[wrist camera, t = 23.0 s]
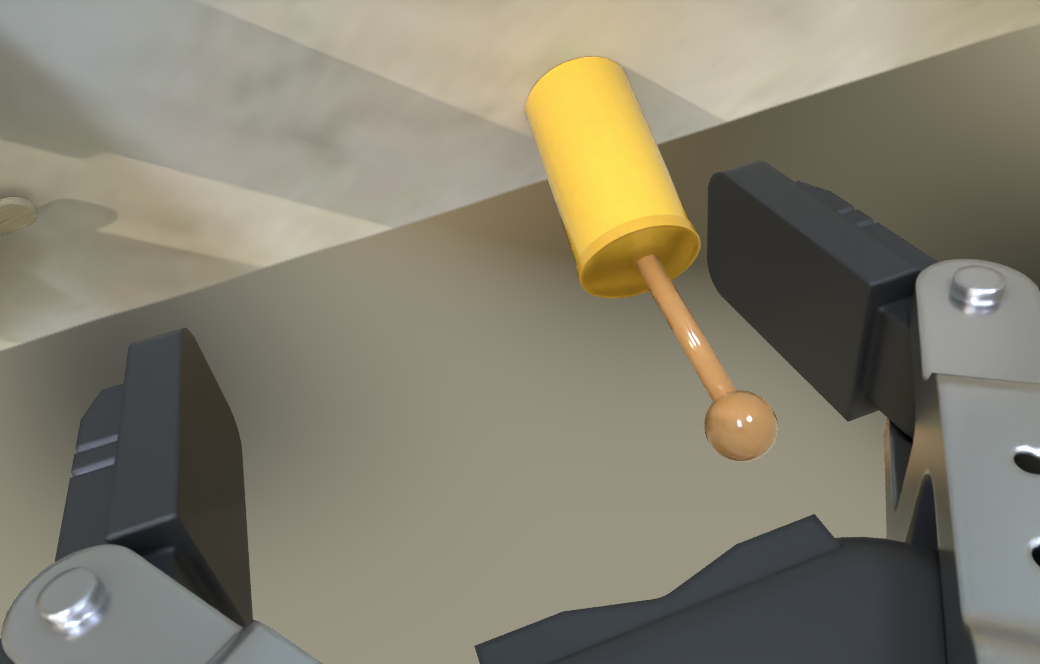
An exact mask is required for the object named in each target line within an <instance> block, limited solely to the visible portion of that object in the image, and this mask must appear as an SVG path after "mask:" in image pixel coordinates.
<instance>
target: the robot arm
mask: <svg viewBox="0 0 1040 664" xmlns="http://www.w3.org/2000/svg"><path fill="white" fill-rule="evenodd" d="M707 238H708V239H707V247H708V248H707V262H708V268H709V272H710V276H711V279H712V281H713V283H714V286H715V287H716V289H717V291H718V292H719V293H720V295H721V296H722V297H723V298H724V299H725V300H726V301H727V302H728V303H729V304H730V305H731V306H732V307H733V308H734V309H735V310H736V311H737V312H738V313H739V314H740V315H741V316H742V317H743V318H744V319H745V320H746V321H747V322H748V323H749V324H750V325H751V326H752V327H753V328H754V329H755V330H756V331H757V332H758V333H759V334H760V335H761V336H762V337H763V338H764V339H765V340H766V341H767V342H768V343H769V344H770V345H771V346H772V347H774V349H775V350H776V351H777V352H778V353H779V354H780V355H781V356H782V357H783V358H785V360H786V361H787V362H788V363H789V364H790V365H791V366H793V368H794V369H796V370H797V372H798V373H799V374H801V376H802V377H804V379H806V380H807V381H808V382H809V383H810V384H811V385H812V386H813V387H814V388H815V389H816V390H817V391H818V392H819V393H820V394H821V395H822V396H823V397H824V398H825V399H826V400H827V401H828V402H829V403H830V404H831V405H832V406H833V407H834V408H835V409H836V410H837V411H838V412H839V413H840V414H841V415H842V416H843V417H844V418H845V419H846V420H847V421H851V420H854V419H856V418H859V417H862V416H865V415H867V414H870V413H873V412H876V411H878V410H880V411H881V412H882V413H883V414H884V415H885V416H887V421H886V425H885V430H884V462H885V496H886V497H885V499H886V539H882V538H868V537H841V538H834V537H833V536H832V534H831V533H830V532H829V531H828V530H827V528H825V526H824V525H823V524H822V522H821V521H820V520H819V519H818V518H817V517H816V515H815V514H814V515H811V516H808V517H806V518H803V519H801V520H798V521H795V522H793V523H790V524H788V525H785V526H783V527H780V528H777V529H775V530H772V531H770V532H767V533H764V534H762V535H759V536H757V537H754V538H752V539H749V540H747V541H744V542H741V543H739V544H736V545H735V546H733V547H732V548H731V549H730V550H728V551H727V552H725V553H724V554H722V555H721V556H720V557H718V558H717V559H716V560H714V561H713V562H712V563H710V564H709V565H707V566H706V567H705V568H703V569H702V570H701V571H699V572H698V573H697V574H695V575H694V576H692V577H691V578H690V579H688V580H687V581H686V582H684V583H683V584H682V585H680V586H679V587H677V588H676V589H675V590H673V591H672V592H671V593H669V594H667V595H666V596H663V597H661V598H657V599H652V600H646V601H638V602H630V603H623V604H615V605H609V606H602V607H593V608H586V609H579V610H571V611H564V612H561V613H558V614H556V615H554V616H551V617H548V618H546V619H543V620H540V621H538V622H535V623H533V624H530V625H527V626H525V627H522V628H520V629H517V630H515V631H512V632H509V633H507V634H504V635H502V636H499V637H497V638H494V639H491V640H489V641H486V642H484V643H481V644H479V645H476V646H475V649H476V652H477V656H478V659H479V662H480V664H1040V286H1036V285H1035V283H1034V282H1033V281H1031V280H1030V279H1029V278H1028V277H1026V276H1025V275H1023V274H1022V273H1020V272H1018V271H1016V270H1014V269H1012V268H1009V267H1007V266H1004V265H1001V264H997V263H993V262H988V261H982V260H974V259H956V260H947V261H942V262H937V261H936V260H934V259H933V258H931V257H930V256H928V255H927V254H925V253H923V252H922V251H921V250H919V249H918V248H916V247H914V246H913V245H911V244H910V243H908V242H907V241H905V240H904V239H902V238H901V237H899V236H898V235H896V234H895V233H893V232H892V231H890V230H889V229H887V228H886V227H884V226H883V225H881V224H879V223H875V224H874V222H873V219H872V218H870V217H869V216H867V215H866V214H864V213H863V212H861V211H860V210H856V211H855V210H854V206H852V205H851V204H849V203H848V202H846V201H844V200H843V199H841V198H840V197H838V196H837V195H835V194H834V193H832V192H831V191H828V190H824V189H821V188H818V187H815V186H812V185H809V184H806V183H802V182H799V181H797V182H794V181H792V180H790V179H789V178H788V177H786V176H785V175H783V174H782V173H780V172H779V171H778V170H776V169H774V168H773V167H772V166H770V165H769V164H767V163H765V162H764V161H755V162H752V163H748V164H745V165H742V166H738V167H735V168H732V169H728V170H724V171H721V172H718V173H715V174H714V175H713V176H712V177H711V179H710V182H709V186H708V237H707ZM76 450H77V454H75V455H74V460H73V465H72V471H71V473H72V475H73V478H70V482H69V487H68V493H67V498H66V504H65V509H64V514H63V520H62V526H61V531H60V536H59V542H58V548H57V553H56V558H55V563H53V564H51V565H50V566H49V567H47V568H46V569H45V570H43V571H42V572H40V573H39V574H38V575H37V576H36V577H35V578H34V579H32V581H30V582H29V583H28V584H27V585H26V587H25V588H24V589H23V590H22V591H21V592H20V593H19V595H18V596H17V597H16V599H15V600H14V602H13V603H12V605H11V607H10V608H9V610H8V612H7V614H6V617H5V620H4V622H3V626H2V632H1V639H0V664H323V663H322V662H320V661H319V660H317V659H316V658H314V657H312V656H311V655H310V654H309V653H307V652H306V651H304V650H302V649H301V648H300V647H298V646H297V645H295V644H294V643H292V642H291V641H289V640H288V639H287V638H285V637H283V636H282V635H281V634H279V633H278V632H276V631H275V630H273V629H272V628H270V627H269V626H267V625H265V624H263V623H261V622H259V621H256V620H253V616H252V599H251V585H250V570H249V552H248V538H247V537H248V536H247V521H246V506H245V490H244V475H243V458H242V446H241V440H240V436H239V432H238V428H237V426H236V422H235V419H234V417H233V414H232V412H231V409H230V407H229V405H228V403H227V401H226V399H225V397H224V395H223V393H222V391H221V389H220V387H219V385H218V383H217V381H216V379H215V377H214V375H213V373H212V371H211V369H210V367H209V365H208V363H207V362H206V359H205V357H204V355H203V353H202V351H201V349H200V347H199V346H198V343H197V341H196V340H195V338H194V336H193V335H192V333H191V332H190V331H189V330H188V329H187V328H182V329H179V330H176V331H172V332H169V333H166V334H162V335H159V336H156V337H152V338H148V339H145V340H142V341H138V342H135V343H132V344H130V346H129V348H128V355H127V363H126V371H125V379H124V384H121V385H117V386H114V387H111V388H108V389H104V390H101V392H100V393H99V395H98V396H97V397H96V399H95V400H94V402H93V403H92V405H91V406H90V408H89V409H88V410H87V412H86V413H85V415H84V416H83V418H82V419H81V422H80V427H79V433H78V438H77V444H76Z"/></svg>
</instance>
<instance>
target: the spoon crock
mask: <svg viewBox="0 0 1040 664" xmlns="http://www.w3.org/2000/svg"><path fill="white" fill-rule="evenodd" d="M526 116H527V119H528V122H529V125H530V128H531V131H532V134H533V137H534V140H535V143H536V146H537V149H538V152H539V155H540V158H541V161H542V164H543V167H544V170H545V173H546V176H547V179H548V182H549V185H550V188H551V191H552V194H553V197H554V200H555V203H556V206H557V209H558V212H559V215H560V218H561V221H562V224H563V227H564V230H565V233H566V236H567V239H568V241H569V245H570V248H571V251H572V254H573V256H574V260H575V262H576V266H577V275H578V278H579V281H580V284H581V286H582V287H583V288H584V290H586V291H587V292H588V293H590V294H591V295H594V296H597V297H602V298H624V297H630V296H635V295H638V294H642V293H645V292H648V291H650V292H651V294H652V296H653V298H654V299H655V301H656V303H657V305H658V306H659V308H660V310H661V311H662V313H663V315H664V317H665V318H666V320H667V322H668V324H669V325H670V327H671V329H672V330H673V332H674V334H675V336H676V338H677V339H678V341H679V343H680V344H681V346H682V348H683V350H684V351H685V353H686V355H687V357H688V358H689V360H690V362H691V364H692V365H693V367H694V369H695V370H696V372H697V374H698V376H699V377H700V379H701V381H702V383H703V385H704V386H705V388H706V390H707V391H708V393H709V395H710V397H711V398H712V400H713V403H712V404H711V405H710V407H709V409H708V411H707V413H706V417H705V421H704V429H705V434H706V437H707V440H708V442H709V443H710V445H711V447H712V448H713V449H714V450H715V451H716V452H717V453H718V454H719V455H721V456H723V457H724V458H726V459H729V460H732V461H736V462H749V461H753V460H756V459H758V458H760V457H762V456H763V455H764V454H766V453H767V452H768V451H769V450H770V448H771V447H772V446H773V444H774V442H775V440H776V437H777V433H778V422H777V417H776V415H775V412H774V410H773V408H772V407H771V406H770V404H769V403H768V402H767V401H766V400H765V399H763V398H762V397H760V396H759V395H757V394H754V393H752V392H748V391H737V390H736V388H735V387H734V385H733V383H732V382H731V380H730V378H729V377H728V375H727V373H726V371H725V370H724V368H723V367H722V365H721V363H720V361H719V360H718V358H717V356H716V355H715V353H714V351H713V350H712V348H711V346H710V345H709V343H708V342H707V340H706V338H705V336H704V335H703V333H702V331H701V330H700V328H699V326H698V325H697V323H696V321H695V320H694V318H693V316H692V315H691V313H690V311H689V309H688V308H687V306H686V304H685V303H684V301H683V299H682V298H681V296H680V294H679V293H678V291H677V289H676V288H675V286H674V284H673V283H672V281H671V280H673V279H674V278H676V277H677V276H679V275H680V274H681V273H683V272H684V271H685V270H686V269H687V268H688V267H689V266H690V265H691V264H692V263H693V261H694V260H695V259H696V257H697V255H698V253H699V250H700V245H701V243H700V238H699V236H698V233H697V231H696V228H695V227H694V225H693V224H692V223H691V222H690V220H689V218H688V216H687V213H686V211H685V209H684V206H683V204H682V202H681V199H680V197H679V195H678V192H677V190H676V188H675V185H674V183H673V181H672V179H671V176H670V174H669V172H668V169H667V167H666V164H665V162H664V160H663V158H662V155H661V153H660V151H659V148H658V146H657V144H656V141H655V139H654V137H653V134H652V132H651V130H650V127H649V125H648V123H647V120H646V118H645V116H644V113H643V111H642V109H641V107H640V104H639V102H638V100H637V97H636V95H635V93H634V90H633V88H632V86H631V83H630V81H629V79H628V76H627V74H626V72H625V71H624V69H623V68H622V67H621V66H620V65H619V64H617V63H616V62H614V61H612V60H609V59H606V58H602V57H582V58H577V59H574V60H570V61H567V62H565V63H563V64H561V65H559V66H557V67H555V68H553V69H552V70H550V71H549V72H548V73H546V74H545V75H544V76H543V77H542V78H541V79H540V80H539V81H538V82H537V83H536V84H535V86H534V87H533V89H532V90H531V92H530V94H529V96H528V99H527V103H526Z"/></svg>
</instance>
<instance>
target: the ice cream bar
mask: <svg viewBox="0 0 1040 664" xmlns="http://www.w3.org/2000/svg"><path fill="white" fill-rule="evenodd" d="M36 215H37V208H36V206H35V205H34V204H33V203H32V202H30V201H28V200H26V199H23V198H19V197H7V198H3V199H0V237H1V236H3V235H6V234H8V233H11V232H13V231H15V230H18V229H20V228H22V227H25V226H27V225H30V224H32V223H33V222H34V221H35V220H36Z"/></svg>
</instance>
